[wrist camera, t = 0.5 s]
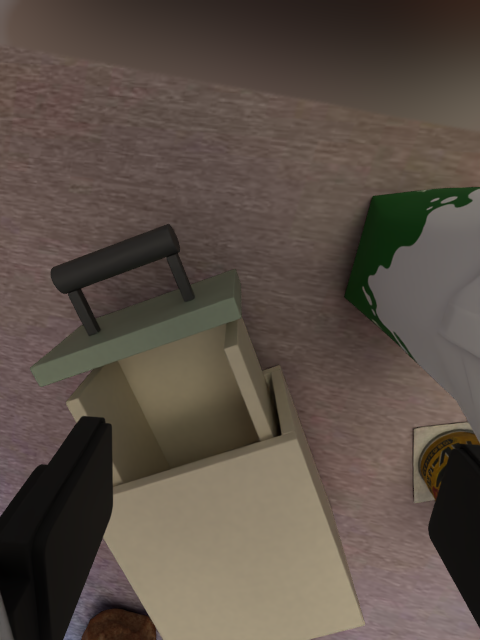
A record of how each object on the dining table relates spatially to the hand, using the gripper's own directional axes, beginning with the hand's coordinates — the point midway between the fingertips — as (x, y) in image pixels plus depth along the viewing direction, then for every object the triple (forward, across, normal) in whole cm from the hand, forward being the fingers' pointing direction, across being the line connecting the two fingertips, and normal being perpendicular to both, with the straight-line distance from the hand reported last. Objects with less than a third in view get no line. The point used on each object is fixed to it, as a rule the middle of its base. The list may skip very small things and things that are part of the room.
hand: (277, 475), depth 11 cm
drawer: (+18, +5, +4) cm, 19 cm away
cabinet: (+18, 0, +14) cm, 23 cm away
